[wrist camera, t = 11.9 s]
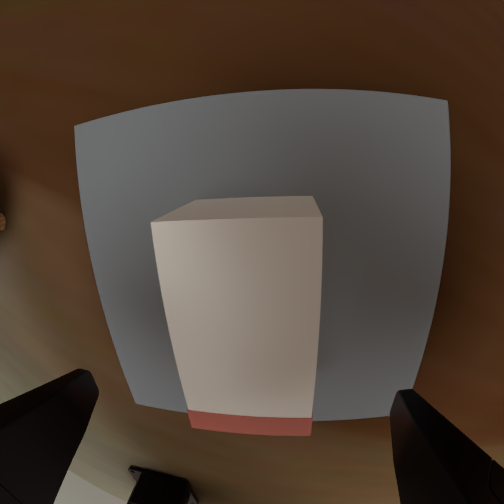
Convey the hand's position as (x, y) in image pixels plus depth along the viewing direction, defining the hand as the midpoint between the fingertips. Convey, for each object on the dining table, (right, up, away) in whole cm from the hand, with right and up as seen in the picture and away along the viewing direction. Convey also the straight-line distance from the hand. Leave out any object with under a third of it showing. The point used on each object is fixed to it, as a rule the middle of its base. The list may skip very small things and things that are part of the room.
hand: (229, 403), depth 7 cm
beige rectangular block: (+1, +2, +7) cm, 7 cm away
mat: (+1, +2, +7) cm, 8 cm away
